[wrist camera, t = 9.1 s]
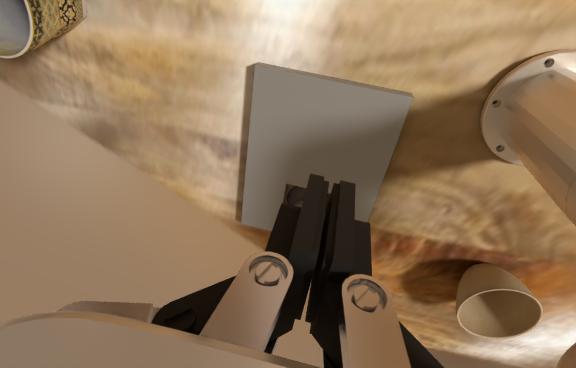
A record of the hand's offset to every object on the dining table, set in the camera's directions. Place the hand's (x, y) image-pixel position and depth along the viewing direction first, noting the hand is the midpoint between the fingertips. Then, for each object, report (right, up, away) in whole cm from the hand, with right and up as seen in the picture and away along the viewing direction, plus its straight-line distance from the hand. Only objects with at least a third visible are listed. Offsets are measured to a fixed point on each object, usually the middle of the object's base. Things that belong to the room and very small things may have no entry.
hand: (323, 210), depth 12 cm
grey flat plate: (+2, +3, +33) cm, 33 cm away
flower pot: (+28, -12, +37) cm, 48 cm away
